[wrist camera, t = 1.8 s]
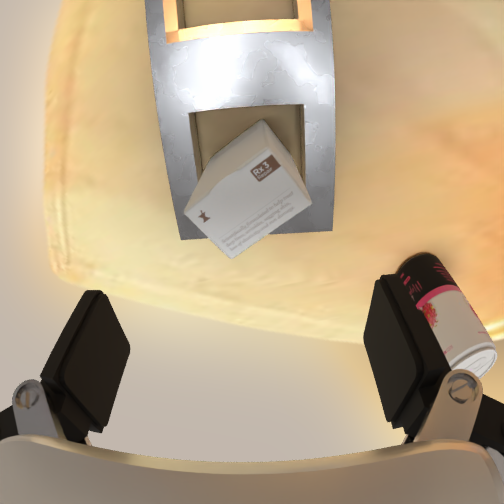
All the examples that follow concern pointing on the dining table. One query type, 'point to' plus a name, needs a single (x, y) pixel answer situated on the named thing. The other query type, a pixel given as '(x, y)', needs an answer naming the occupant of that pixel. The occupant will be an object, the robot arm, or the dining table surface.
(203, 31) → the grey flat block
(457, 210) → the dining table surface
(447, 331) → the beverage can
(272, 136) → the skincare box
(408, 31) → the dining table surface
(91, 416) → the robot arm
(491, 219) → the dining table surface
